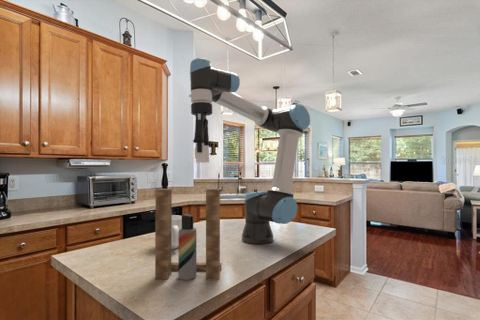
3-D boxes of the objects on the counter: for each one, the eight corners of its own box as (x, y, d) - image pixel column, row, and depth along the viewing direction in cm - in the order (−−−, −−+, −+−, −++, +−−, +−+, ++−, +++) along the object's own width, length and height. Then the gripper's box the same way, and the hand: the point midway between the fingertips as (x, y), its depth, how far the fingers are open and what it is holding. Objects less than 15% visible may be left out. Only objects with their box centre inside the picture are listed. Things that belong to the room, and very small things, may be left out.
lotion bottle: (179, 273, 88) (179, 212, 89) (197, 272, 89) (197, 212, 89) (177, 280, 83) (177, 215, 83) (195, 280, 83) (195, 215, 84)
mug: (190, 250, 112) (190, 219, 112) (164, 255, 106) (164, 222, 106) (177, 242, 125) (178, 214, 125) (154, 246, 118) (154, 216, 119)
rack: (221, 268, 92) (221, 187, 93) (218, 279, 83) (218, 189, 84) (164, 268, 93) (164, 187, 94) (155, 279, 84) (155, 189, 85)
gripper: (196, 110, 108) (197, 162, 108) (184, 95, 83) (185, 163, 83) (215, 109, 108) (216, 162, 108) (208, 94, 83) (209, 162, 83)
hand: (203, 162), depth 96 cm, fingers open, 13 cm apart
